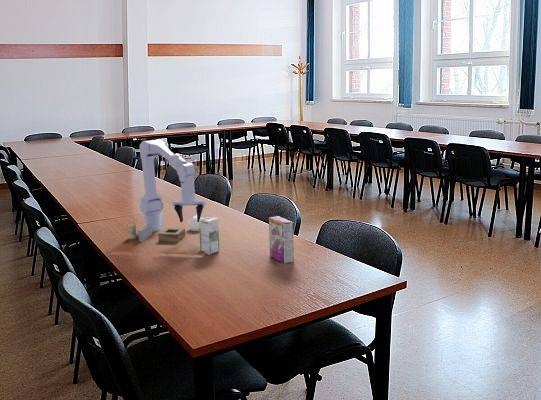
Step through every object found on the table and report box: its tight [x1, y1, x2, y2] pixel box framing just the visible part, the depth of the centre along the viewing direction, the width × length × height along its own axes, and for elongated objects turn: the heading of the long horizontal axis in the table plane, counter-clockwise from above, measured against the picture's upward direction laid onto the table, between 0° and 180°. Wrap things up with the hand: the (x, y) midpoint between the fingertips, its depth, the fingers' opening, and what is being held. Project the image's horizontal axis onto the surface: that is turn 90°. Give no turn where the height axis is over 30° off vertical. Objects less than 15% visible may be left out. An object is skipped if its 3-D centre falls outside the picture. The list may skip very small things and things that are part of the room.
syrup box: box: [199, 216, 220, 256], centre depth 229 cm, size 6×6×14 cm
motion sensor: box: [187, 214, 204, 232], centre depth 261 cm, size 8×8×8 cm
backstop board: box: [138, 224, 153, 243], centre depth 248 cm, size 11×20×6 cm, turn 80°
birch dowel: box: [126, 223, 137, 240], centre depth 250 cm, size 4×4×7 cm
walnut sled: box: [157, 227, 186, 243], centre depth 247 cm, size 10×9×4 cm
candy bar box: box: [268, 215, 295, 265], centre depth 218 cm, size 11×5×16 cm, turn 30°
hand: (190, 221), depth 243 cm, fingers open, 7 cm apart
